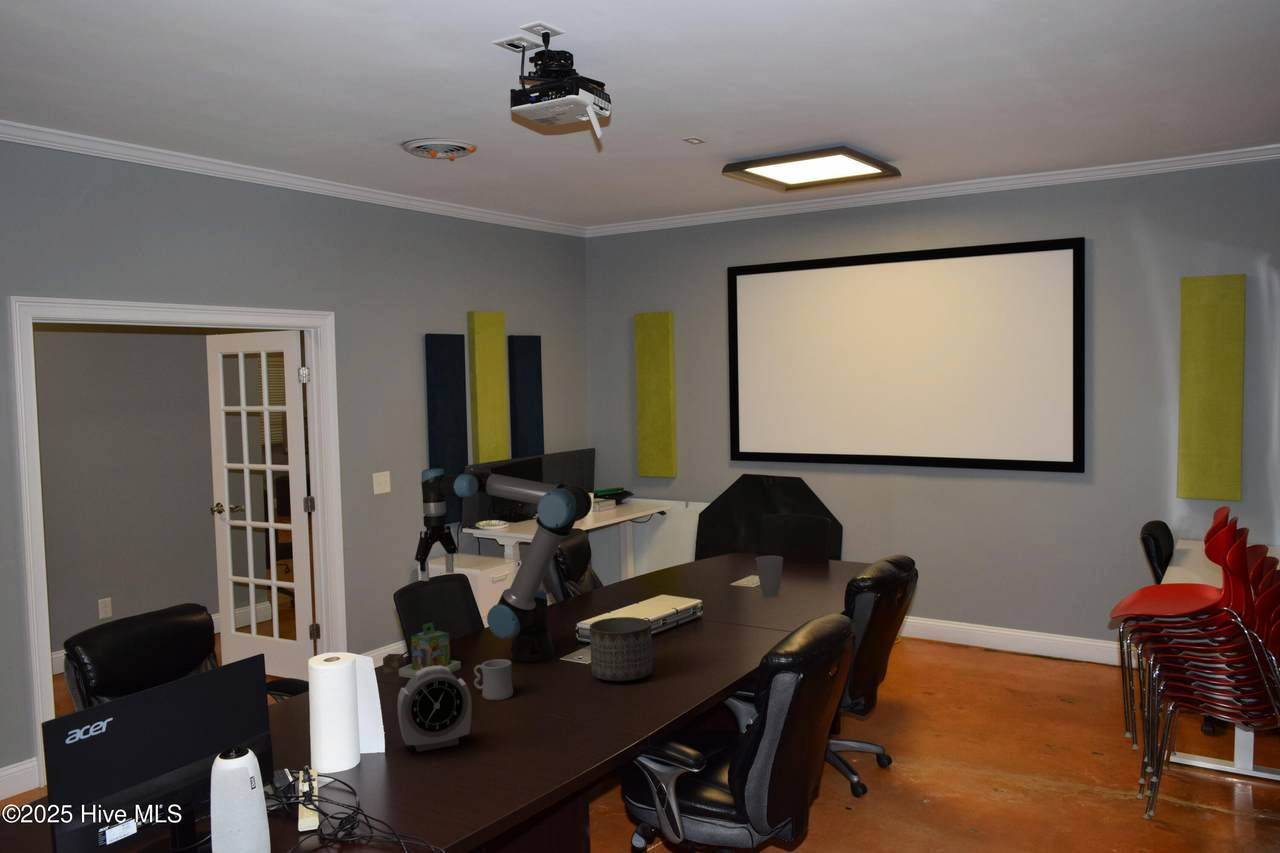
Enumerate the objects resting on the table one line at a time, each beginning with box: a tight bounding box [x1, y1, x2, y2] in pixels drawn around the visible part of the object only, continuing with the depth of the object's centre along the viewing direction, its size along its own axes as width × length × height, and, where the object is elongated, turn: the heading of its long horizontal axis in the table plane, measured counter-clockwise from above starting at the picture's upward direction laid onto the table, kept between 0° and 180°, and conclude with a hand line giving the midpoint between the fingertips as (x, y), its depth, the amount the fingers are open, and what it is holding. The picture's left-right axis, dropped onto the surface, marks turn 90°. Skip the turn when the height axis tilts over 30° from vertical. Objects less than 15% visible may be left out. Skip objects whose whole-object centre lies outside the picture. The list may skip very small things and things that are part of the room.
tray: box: [398, 659, 462, 679], centre depth 301 cm, size 14×14×2 cm
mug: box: [473, 658, 514, 701], centre depth 275 cm, size 12×9×10 cm
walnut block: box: [382, 653, 405, 674], centre depth 305 cm, size 5×5×5 cm
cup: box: [755, 554, 784, 598], centre depth 396 cm, size 12×12×16 cm
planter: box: [589, 616, 654, 683], centre depth 289 cm, size 19×19×16 cm
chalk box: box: [410, 622, 451, 671], centre depth 301 cm, size 9×9×15 cm
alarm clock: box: [396, 665, 472, 753], centre depth 238 cm, size 18×8×20 cm, turn 114°
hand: (437, 576), depth 312 cm, fingers open, 13 cm apart
